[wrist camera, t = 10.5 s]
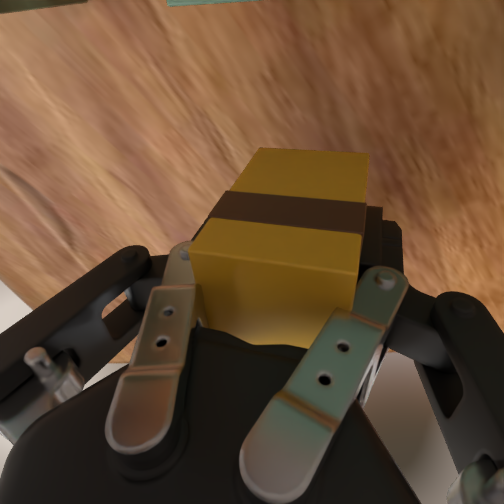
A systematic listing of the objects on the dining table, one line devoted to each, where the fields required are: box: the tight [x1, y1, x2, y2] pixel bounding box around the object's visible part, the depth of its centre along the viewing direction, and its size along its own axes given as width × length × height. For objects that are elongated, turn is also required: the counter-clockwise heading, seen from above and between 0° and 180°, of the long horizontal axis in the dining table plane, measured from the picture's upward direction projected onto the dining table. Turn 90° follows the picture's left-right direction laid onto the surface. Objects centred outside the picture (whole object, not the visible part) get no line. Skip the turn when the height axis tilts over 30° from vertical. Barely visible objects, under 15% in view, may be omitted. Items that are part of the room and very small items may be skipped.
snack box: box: [188, 148, 370, 349], centre depth 13 cm, size 5×4×7 cm
